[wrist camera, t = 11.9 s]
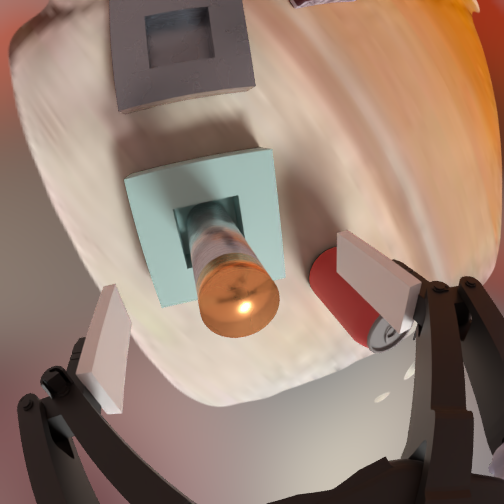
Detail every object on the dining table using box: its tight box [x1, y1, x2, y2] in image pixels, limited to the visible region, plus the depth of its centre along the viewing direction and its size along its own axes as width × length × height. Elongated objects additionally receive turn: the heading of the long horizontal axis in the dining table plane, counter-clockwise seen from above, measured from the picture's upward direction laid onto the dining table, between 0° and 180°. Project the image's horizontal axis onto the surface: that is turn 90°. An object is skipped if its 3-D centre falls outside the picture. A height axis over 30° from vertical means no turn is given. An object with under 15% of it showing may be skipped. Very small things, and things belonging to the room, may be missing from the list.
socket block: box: [124, 147, 286, 308], centre depth 25 cm, size 12×12×4 cm
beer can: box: [309, 247, 414, 353], centre depth 27 cm, size 7×7×12 cm
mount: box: [109, 0, 256, 114], centre depth 18 cm, size 11×11×3 cm
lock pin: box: [186, 201, 280, 338], centre depth 20 cm, size 4×4×14 cm
